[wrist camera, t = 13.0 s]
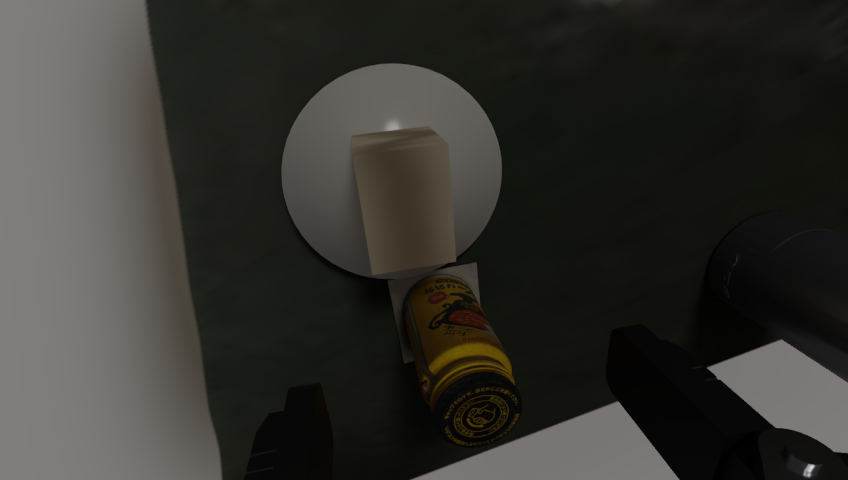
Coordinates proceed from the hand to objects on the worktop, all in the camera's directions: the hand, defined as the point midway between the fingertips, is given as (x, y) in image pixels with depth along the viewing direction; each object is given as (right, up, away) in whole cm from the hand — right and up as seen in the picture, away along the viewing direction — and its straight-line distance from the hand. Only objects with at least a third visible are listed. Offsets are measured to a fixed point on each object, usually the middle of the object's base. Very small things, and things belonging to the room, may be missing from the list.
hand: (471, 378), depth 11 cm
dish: (-3, +8, +18) cm, 20 cm away
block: (-3, +8, +17) cm, 19 cm away
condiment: (0, -2, +23) cm, 24 cm away
